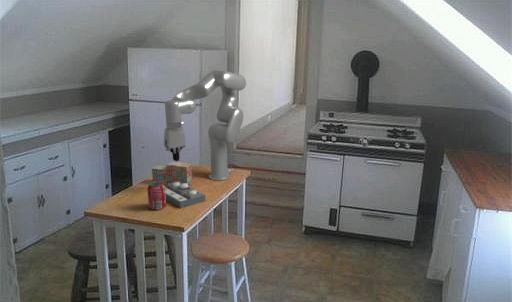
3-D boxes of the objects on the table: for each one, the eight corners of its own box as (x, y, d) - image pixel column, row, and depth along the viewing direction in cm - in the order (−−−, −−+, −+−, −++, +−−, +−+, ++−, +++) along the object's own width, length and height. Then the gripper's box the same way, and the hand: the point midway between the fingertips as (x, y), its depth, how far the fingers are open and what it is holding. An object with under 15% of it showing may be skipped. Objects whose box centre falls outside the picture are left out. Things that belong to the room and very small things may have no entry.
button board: (181, 188, 212) (180, 180, 211) (205, 201, 195) (205, 192, 194) (157, 194, 203) (156, 186, 202) (180, 208, 186) (180, 199, 185)
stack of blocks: (152, 184, 219) (151, 163, 216) (158, 180, 224) (157, 160, 221) (187, 188, 213) (186, 166, 209) (192, 184, 218) (191, 163, 215)
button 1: (177, 184, 208) (177, 181, 207) (181, 186, 205) (181, 183, 204) (170, 186, 205) (170, 182, 205) (174, 188, 202) (174, 184, 202)
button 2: (193, 193, 196) (193, 189, 196) (198, 195, 193) (198, 191, 193) (187, 195, 194) (186, 191, 193) (191, 197, 191) (191, 193, 190)
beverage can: (159, 202, 192) (157, 179, 189) (169, 207, 188) (168, 183, 185) (145, 207, 186) (143, 183, 183) (155, 212, 182) (154, 187, 179)
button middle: (185, 186, 202) (185, 182, 201) (189, 188, 199) (189, 184, 198) (178, 187, 199) (178, 184, 199) (182, 190, 196) (182, 186, 196)
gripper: (183, 122, 205) (185, 156, 210) (156, 126, 195) (159, 161, 200) (190, 124, 199) (192, 159, 204) (164, 128, 190) (166, 165, 195)
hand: (176, 160), depth 202 cm, fingers closed
